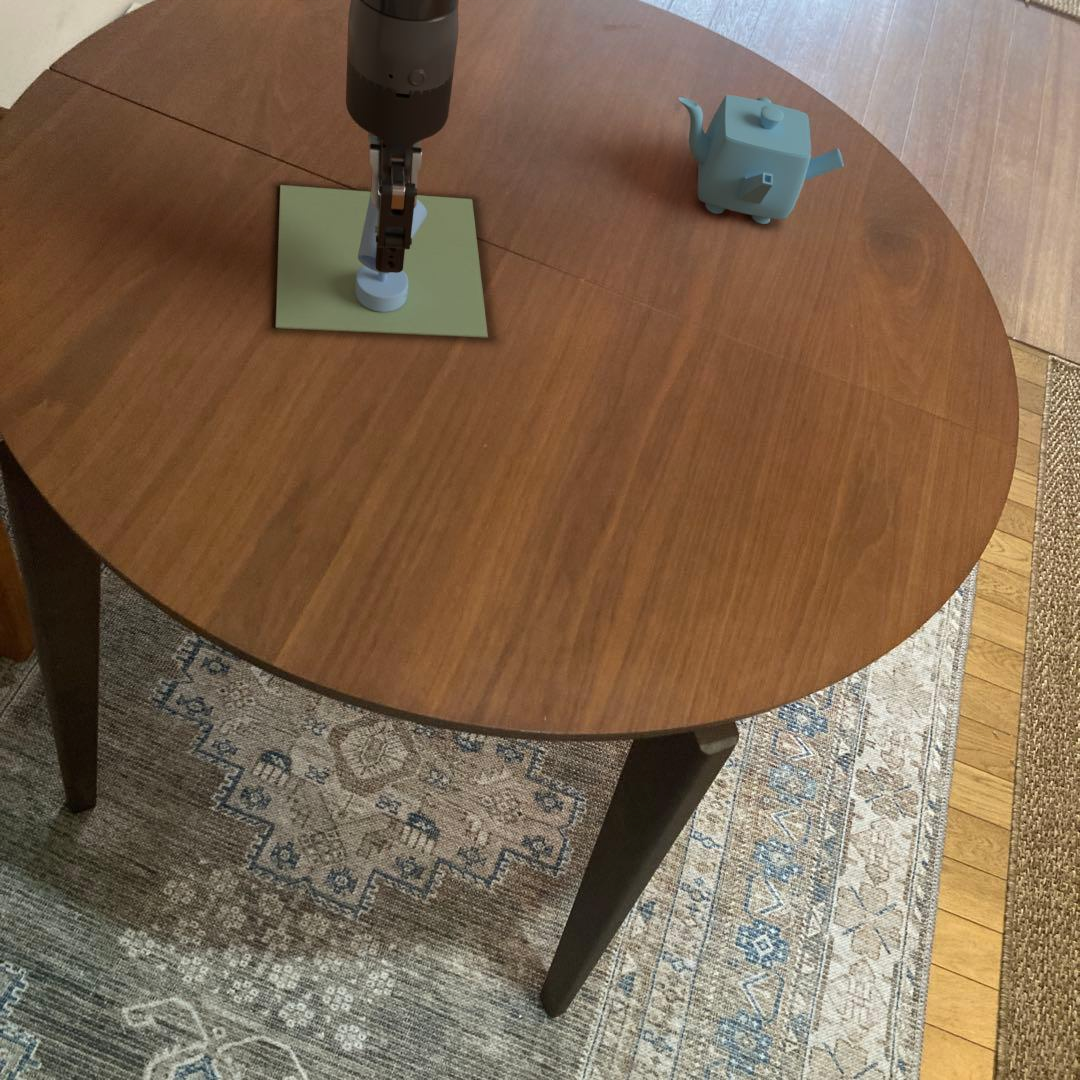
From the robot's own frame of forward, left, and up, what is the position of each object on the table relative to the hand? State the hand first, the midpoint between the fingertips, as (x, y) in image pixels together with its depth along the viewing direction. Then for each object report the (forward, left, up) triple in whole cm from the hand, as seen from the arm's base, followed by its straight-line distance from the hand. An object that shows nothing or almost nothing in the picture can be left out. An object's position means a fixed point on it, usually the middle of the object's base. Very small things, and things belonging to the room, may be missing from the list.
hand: (387, 236), depth 86 cm
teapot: (+37, +16, -7) cm, 41 cm away
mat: (0, +4, -6) cm, 8 cm away
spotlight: (0, 0, -6) cm, 6 cm away
